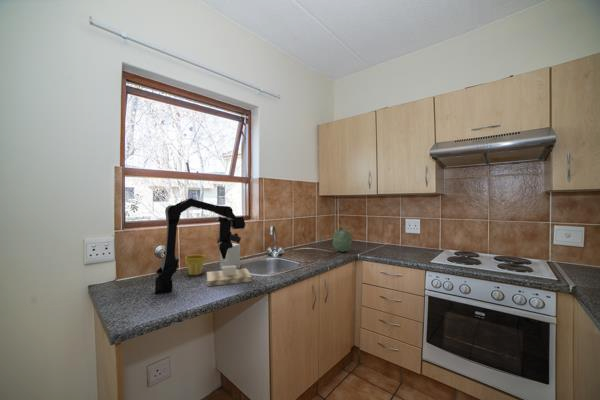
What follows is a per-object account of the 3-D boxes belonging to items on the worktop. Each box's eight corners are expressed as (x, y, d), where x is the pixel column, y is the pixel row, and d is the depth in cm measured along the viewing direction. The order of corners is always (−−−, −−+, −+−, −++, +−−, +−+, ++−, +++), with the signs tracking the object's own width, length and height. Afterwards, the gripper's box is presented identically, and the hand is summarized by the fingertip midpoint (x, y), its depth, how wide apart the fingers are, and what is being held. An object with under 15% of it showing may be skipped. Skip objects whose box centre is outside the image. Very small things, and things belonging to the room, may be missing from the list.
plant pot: (192, 270, 145) (193, 253, 145) (208, 271, 143) (208, 255, 143) (180, 275, 135) (181, 257, 135) (197, 276, 132) (197, 259, 132)
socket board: (207, 286, 119) (207, 281, 119) (206, 276, 134) (206, 271, 134) (252, 281, 127) (252, 276, 127) (246, 272, 142) (246, 268, 142)
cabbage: (340, 249, 217) (341, 227, 217) (356, 253, 201) (357, 229, 201) (327, 251, 208) (327, 227, 208) (342, 255, 192) (343, 230, 193)
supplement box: (240, 268, 151) (241, 244, 151) (228, 271, 144) (229, 246, 144) (231, 265, 156) (231, 242, 156) (219, 268, 149) (220, 244, 149)
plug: (222, 280, 127) (222, 268, 127) (221, 278, 131) (221, 266, 131) (236, 279, 130) (236, 267, 130) (234, 276, 134) (235, 265, 134)
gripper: (243, 231, 123) (242, 262, 123) (237, 227, 141) (236, 254, 140) (220, 231, 119) (219, 263, 119) (217, 227, 136) (216, 255, 136)
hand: (223, 258), depth 129 cm, fingers closed
